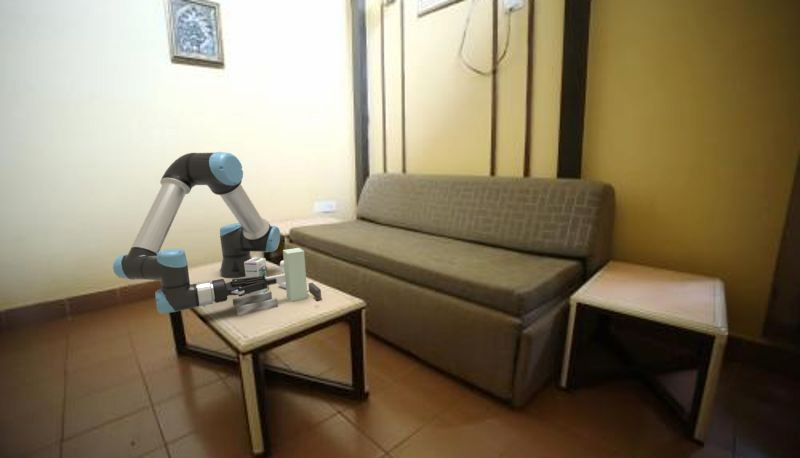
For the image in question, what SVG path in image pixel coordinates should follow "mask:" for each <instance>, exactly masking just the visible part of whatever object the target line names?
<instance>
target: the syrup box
mask: <svg viewBox="0 0 800 458" xmlns="http://www.w3.org/2000/svg"><path fill="white" fill-rule="evenodd" d="M251 258H252V259H250V260H248V261H245V262H244V266H245V274H246V276H245V278H250V277H259V276H262V275H265V277H268V271H267V269H268V267H267V260H266V257H251ZM262 277H263V276H262ZM269 286H270V285H269ZM269 286H267V289H262V290H259V291H255V292H252V293H249V294H248V295H255V294H260V293H265V292H269V291H270V287H269Z"/></svg>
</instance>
